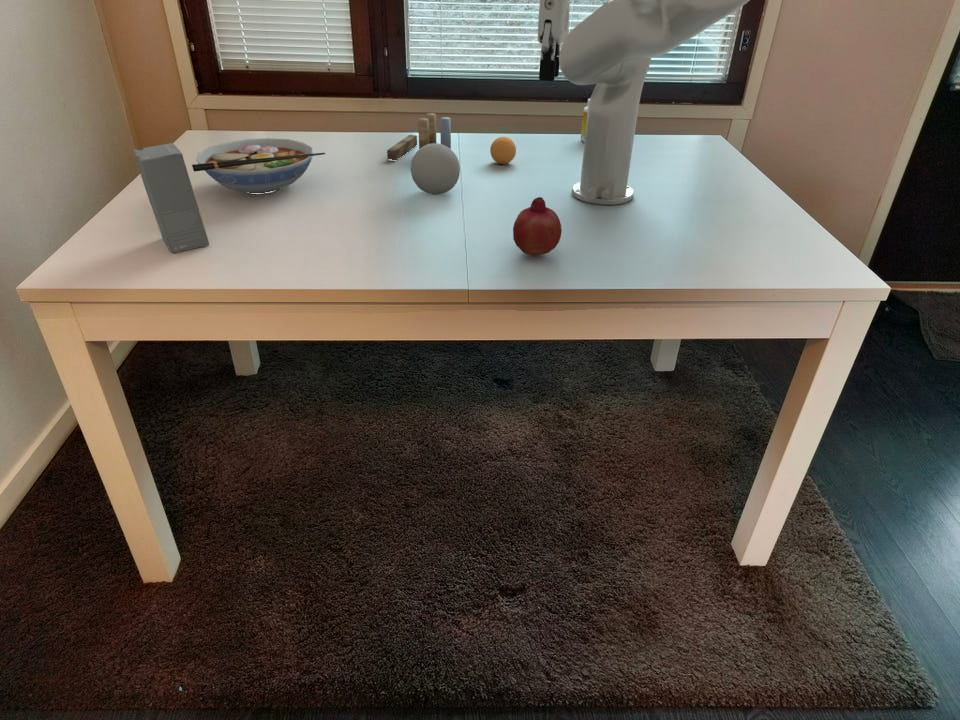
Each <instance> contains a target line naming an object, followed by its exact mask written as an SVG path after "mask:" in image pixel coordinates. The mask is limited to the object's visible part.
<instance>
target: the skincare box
mask: <svg viewBox="0 0 960 720" xmlns="http://www.w3.org/2000/svg"><path fill="white" fill-rule="evenodd" d="M132 152H133V155H134V159H135V162H136V164H137V168H138V170H139V173H140V176H141V180H142V183H143V185H144V189H145V191H146V192H145V193H146V195H147V197H148V200H149V204H150V206H151V208H152V209H151V210H152V212H153V214H154V217H155V220H156V223H157V226H158V229H159V232H160V235H161V238H162V240H163V242H164V241H165V242H164V243H165V245H166V246H167V248H168V249H169V251H170V253H171V254H172V253H179V252H183V251H188V250H192V249H197V248H203V247H209V246H210V241H209V239H208V235H207V233H206V229H205V225H204V223H203V219H202V216H201V212H200V208H199V206H198V202H197V198H196V195H195V192H194V188H193V185H192V183H191V180H190V179H191V178H190V175H189V173H188V169H187V166H186V162H185V160H184V154H183V153H182V151H181V150H180V149H179V148H178V147H177V146H176V145H175V144H174V142H171V143H170V142H169V143H166V144H165V143H163V144H159V145H154V146H153V145H152V146H148V147H141V148H136V149H133V151H132Z"/></svg>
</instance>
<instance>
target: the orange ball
mask: <svg viewBox="0 0 960 720" xmlns="http://www.w3.org/2000/svg"><path fill="white" fill-rule="evenodd" d="M516 153H517V147H516V144H515V142H514V141H513V140H512V138H509V137H508V136H499V137H497V138H495V139H494V140H493V141H492V143H491V145H490V150H489V154H490V156H491V157H492V160H493V161H494V162H496V163H497V164H500V165H506V164H509V163H511V162H512V161H513V160H514V158H516V155H517V154H516Z"/></svg>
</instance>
